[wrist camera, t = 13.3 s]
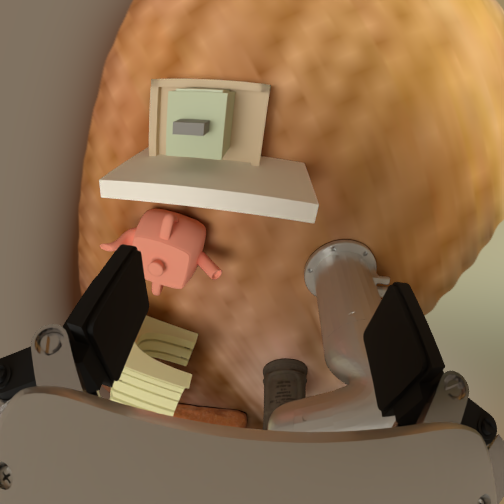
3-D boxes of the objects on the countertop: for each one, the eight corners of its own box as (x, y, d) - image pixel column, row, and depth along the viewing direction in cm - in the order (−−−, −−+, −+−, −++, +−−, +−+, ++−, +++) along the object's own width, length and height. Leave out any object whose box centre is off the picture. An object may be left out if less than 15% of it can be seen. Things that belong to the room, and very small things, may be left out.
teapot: (199, 185, 40) (179, 216, 32) (230, 250, 46) (220, 292, 38) (126, 214, 43) (96, 248, 35) (159, 269, 49) (139, 309, 41)
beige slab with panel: (317, 93, 31) (342, 98, 20) (301, 176, 38) (314, 223, 26) (152, 79, 31) (96, 84, 20) (149, 159, 38) (101, 197, 26)
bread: (167, 399, 81) (157, 439, 68) (247, 408, 80) (243, 452, 67) (176, 414, 89) (168, 450, 76) (247, 423, 87) (244, 461, 75)
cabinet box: (235, 89, 29) (223, 91, 22) (229, 147, 33) (216, 166, 26) (185, 87, 28) (159, 89, 22) (182, 143, 33) (157, 162, 26)
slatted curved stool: (132, 282, 52) (94, 353, 37) (208, 309, 54) (188, 388, 39) (127, 356, 68) (106, 411, 53) (181, 376, 70) (167, 433, 56)
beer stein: (255, 361, 63) (251, 440, 47) (299, 352, 60) (303, 436, 44) (276, 386, 71) (275, 453, 56) (314, 379, 68) (318, 448, 53)
